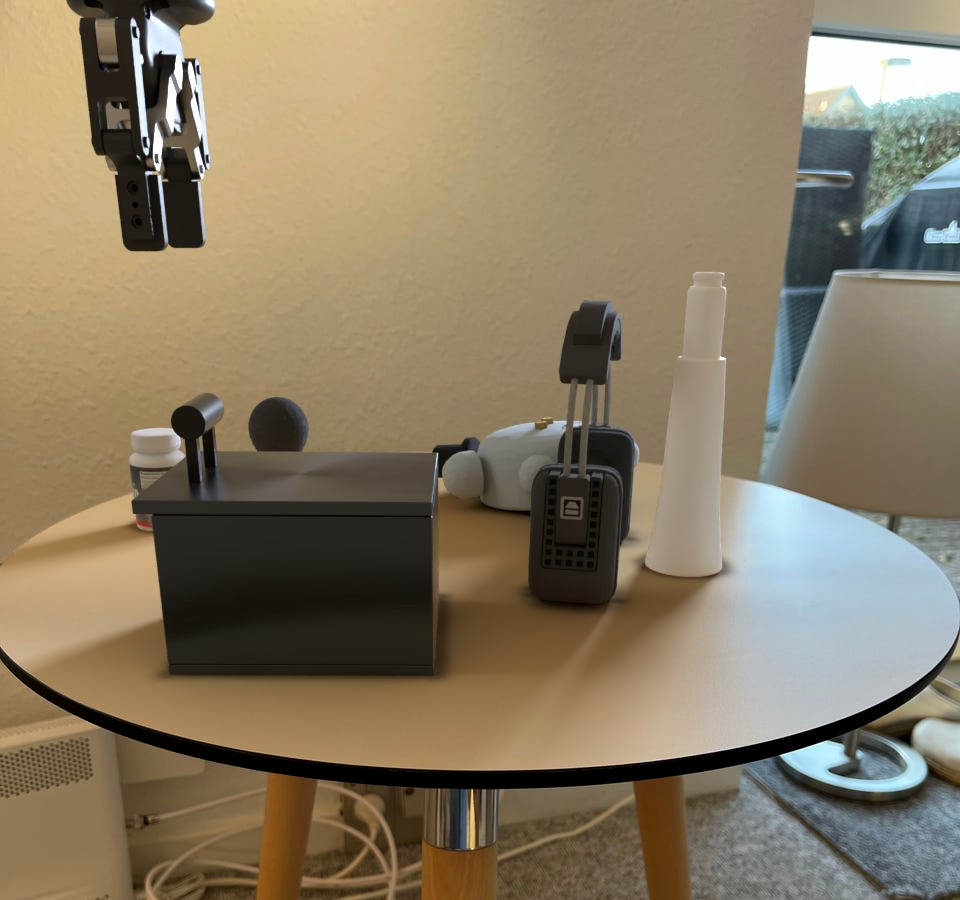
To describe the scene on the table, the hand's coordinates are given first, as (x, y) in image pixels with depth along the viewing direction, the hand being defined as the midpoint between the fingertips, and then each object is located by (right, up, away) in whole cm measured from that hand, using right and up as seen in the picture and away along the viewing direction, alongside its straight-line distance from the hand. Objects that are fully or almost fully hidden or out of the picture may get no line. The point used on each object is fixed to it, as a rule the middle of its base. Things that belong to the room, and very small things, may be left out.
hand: (168, 249), depth 58 cm
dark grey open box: (+7, -22, +8) cm, 25 cm away
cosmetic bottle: (+34, -17, +23) cm, 44 cm away
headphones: (+26, -17, +23) cm, 38 cm away
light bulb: (-1, -9, +41) cm, 42 cm away
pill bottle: (-10, -12, +32) cm, 36 cm away
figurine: (+23, -9, +42) cm, 49 cm away
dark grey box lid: (+7, -13, +5) cm, 15 cm away
